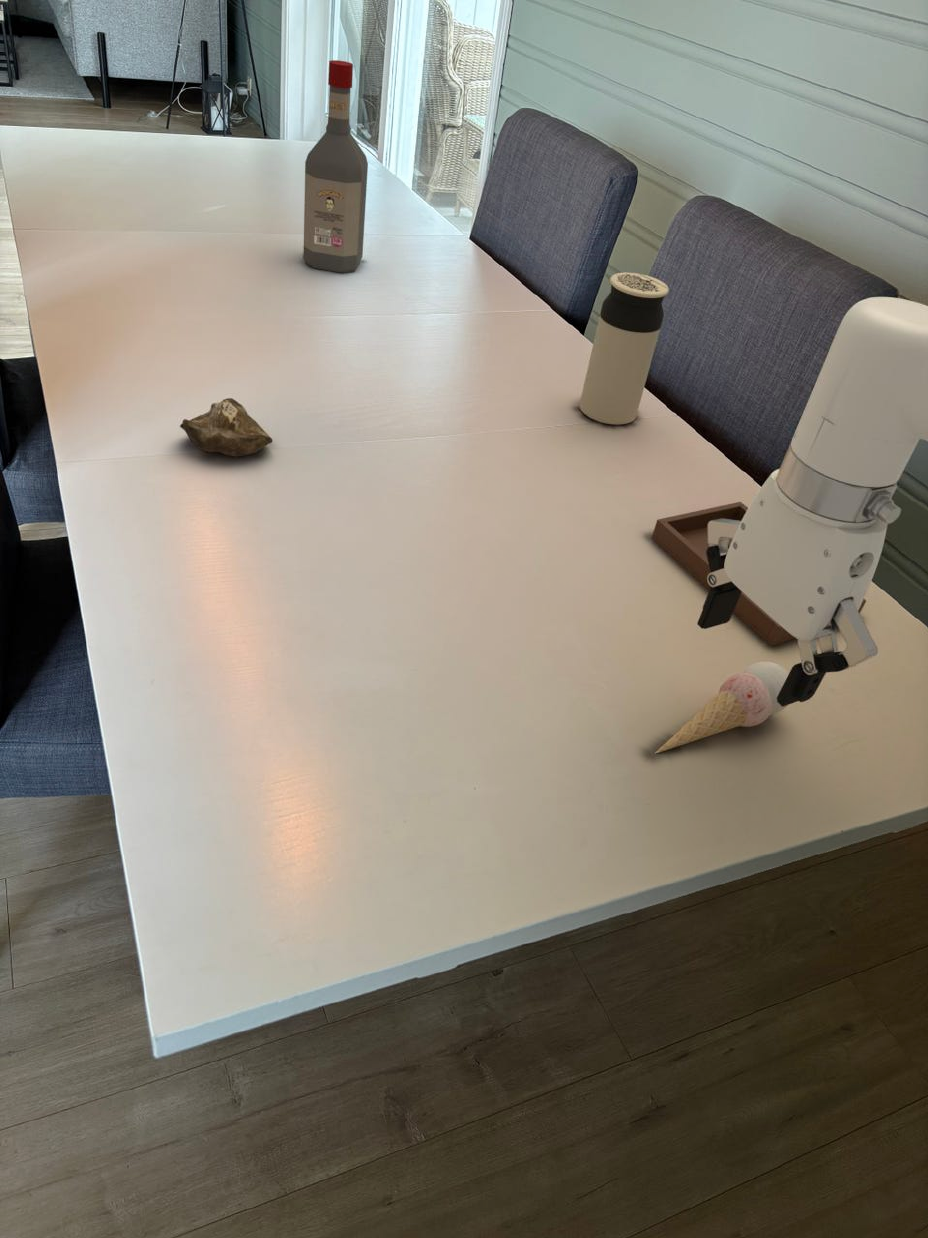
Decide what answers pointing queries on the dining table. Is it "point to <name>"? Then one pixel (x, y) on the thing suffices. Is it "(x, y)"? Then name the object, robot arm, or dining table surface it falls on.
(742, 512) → the tray
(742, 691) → the ice cream cone
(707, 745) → the dining table surface
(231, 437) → the fossilized seashell
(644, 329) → the travel mug
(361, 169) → the liquor
